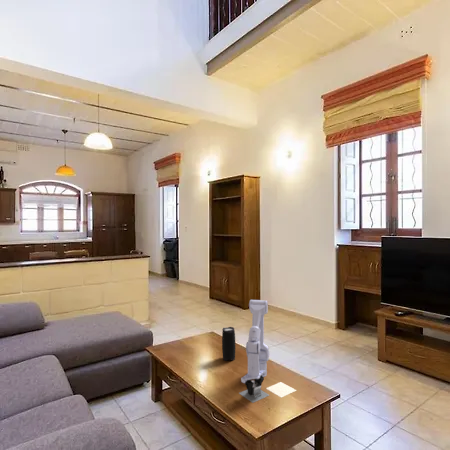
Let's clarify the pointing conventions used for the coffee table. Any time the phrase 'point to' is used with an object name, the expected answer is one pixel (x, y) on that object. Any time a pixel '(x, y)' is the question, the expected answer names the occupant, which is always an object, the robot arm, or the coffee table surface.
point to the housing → (256, 390)
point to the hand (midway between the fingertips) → (253, 392)
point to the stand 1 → (253, 397)
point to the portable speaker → (228, 343)
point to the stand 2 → (281, 389)
